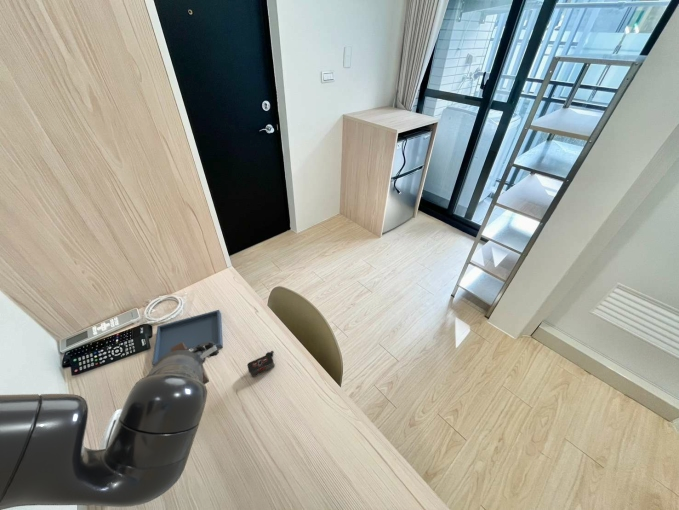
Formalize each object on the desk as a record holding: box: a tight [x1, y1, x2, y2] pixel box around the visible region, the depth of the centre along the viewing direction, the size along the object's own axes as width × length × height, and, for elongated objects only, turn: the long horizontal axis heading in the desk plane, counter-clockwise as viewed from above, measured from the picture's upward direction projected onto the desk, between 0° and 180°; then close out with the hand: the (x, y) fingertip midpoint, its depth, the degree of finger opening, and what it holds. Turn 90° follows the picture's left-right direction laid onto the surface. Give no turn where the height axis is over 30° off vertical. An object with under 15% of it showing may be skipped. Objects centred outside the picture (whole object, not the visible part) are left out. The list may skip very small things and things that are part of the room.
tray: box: [151, 309, 224, 367], centre depth 78 cm, size 17×12×2 cm
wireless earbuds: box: [246, 350, 276, 378], centre depth 72 cm, size 5×7×3 cm, turn 117°
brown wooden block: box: [170, 342, 210, 385], centre depth 55 cm, size 8×4×7 cm, turn 38°
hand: (183, 356), depth 56 cm, fingers closed on brown wooden block, 2 cm apart
